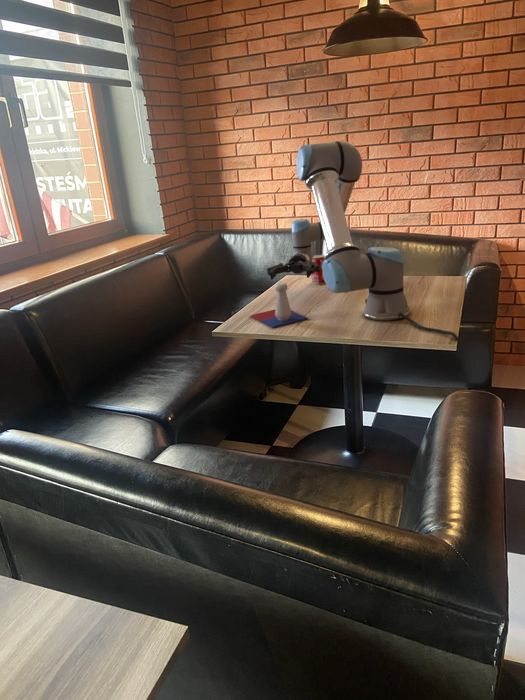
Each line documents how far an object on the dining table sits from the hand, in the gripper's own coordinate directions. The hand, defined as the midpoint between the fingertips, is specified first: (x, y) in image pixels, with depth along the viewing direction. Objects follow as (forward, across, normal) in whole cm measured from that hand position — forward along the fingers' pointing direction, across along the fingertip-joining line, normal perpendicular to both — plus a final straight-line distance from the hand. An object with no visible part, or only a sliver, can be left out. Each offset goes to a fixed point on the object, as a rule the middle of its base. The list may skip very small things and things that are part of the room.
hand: (289, 275), depth 196 cm
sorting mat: (+8, +4, -14) cm, 16 cm away
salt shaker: (+11, +1, -14) cm, 18 cm away
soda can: (-41, -5, -14) cm, 43 cm away
